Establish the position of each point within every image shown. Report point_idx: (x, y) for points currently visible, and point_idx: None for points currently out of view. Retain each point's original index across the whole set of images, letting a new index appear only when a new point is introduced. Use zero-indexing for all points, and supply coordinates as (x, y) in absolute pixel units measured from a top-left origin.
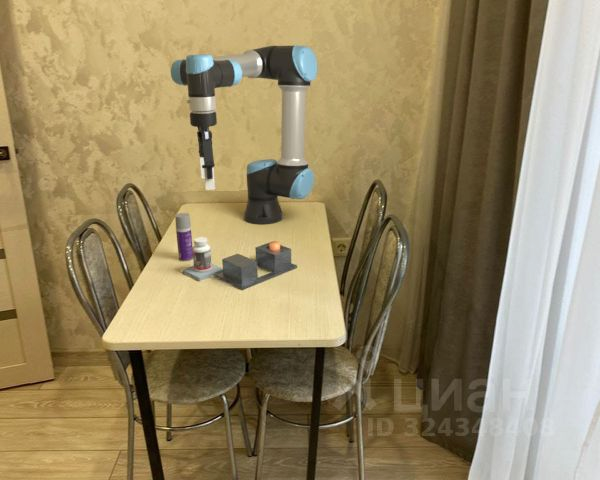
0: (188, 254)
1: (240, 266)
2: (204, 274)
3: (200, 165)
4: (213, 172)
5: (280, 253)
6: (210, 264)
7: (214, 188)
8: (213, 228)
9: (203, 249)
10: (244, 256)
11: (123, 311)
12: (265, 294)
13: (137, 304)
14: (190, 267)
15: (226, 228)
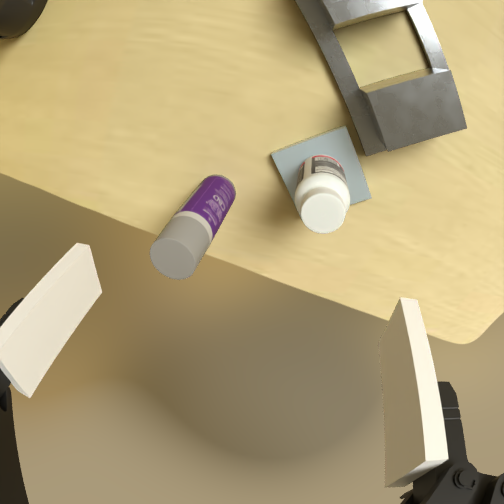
0: (230, 195)
1: (460, 127)
2: (357, 181)
3: (56, 355)
4: (439, 415)
5: None
6: (338, 164)
7: (415, 307)
8: (46, 106)
9: (347, 202)
10: (399, 84)
11: None
12: (499, 92)
13: None
14: None
15: (51, 75)
